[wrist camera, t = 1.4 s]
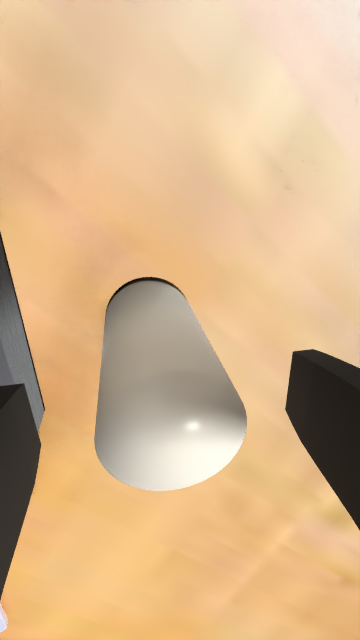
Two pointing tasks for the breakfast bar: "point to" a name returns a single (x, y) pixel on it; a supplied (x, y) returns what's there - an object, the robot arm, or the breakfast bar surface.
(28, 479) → the robot arm
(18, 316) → the socket plate
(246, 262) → the breakfast bar surface
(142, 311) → the peg
